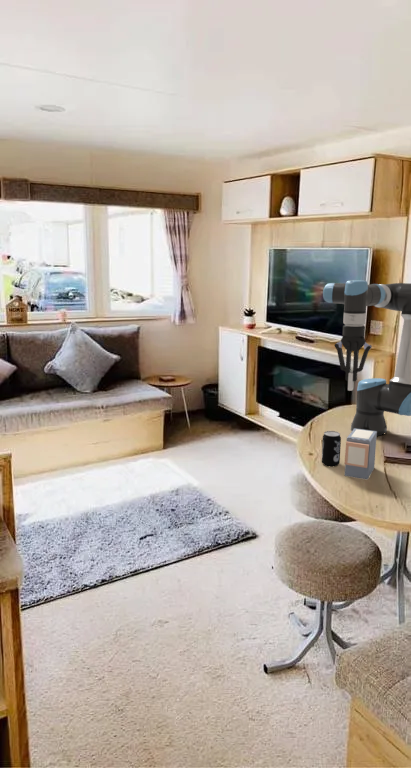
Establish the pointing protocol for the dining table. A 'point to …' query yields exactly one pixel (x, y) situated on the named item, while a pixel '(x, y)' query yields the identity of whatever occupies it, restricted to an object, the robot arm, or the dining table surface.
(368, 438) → the block
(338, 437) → the beverage can
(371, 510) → the dining table surface
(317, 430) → the dining table surface
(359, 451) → the stub
